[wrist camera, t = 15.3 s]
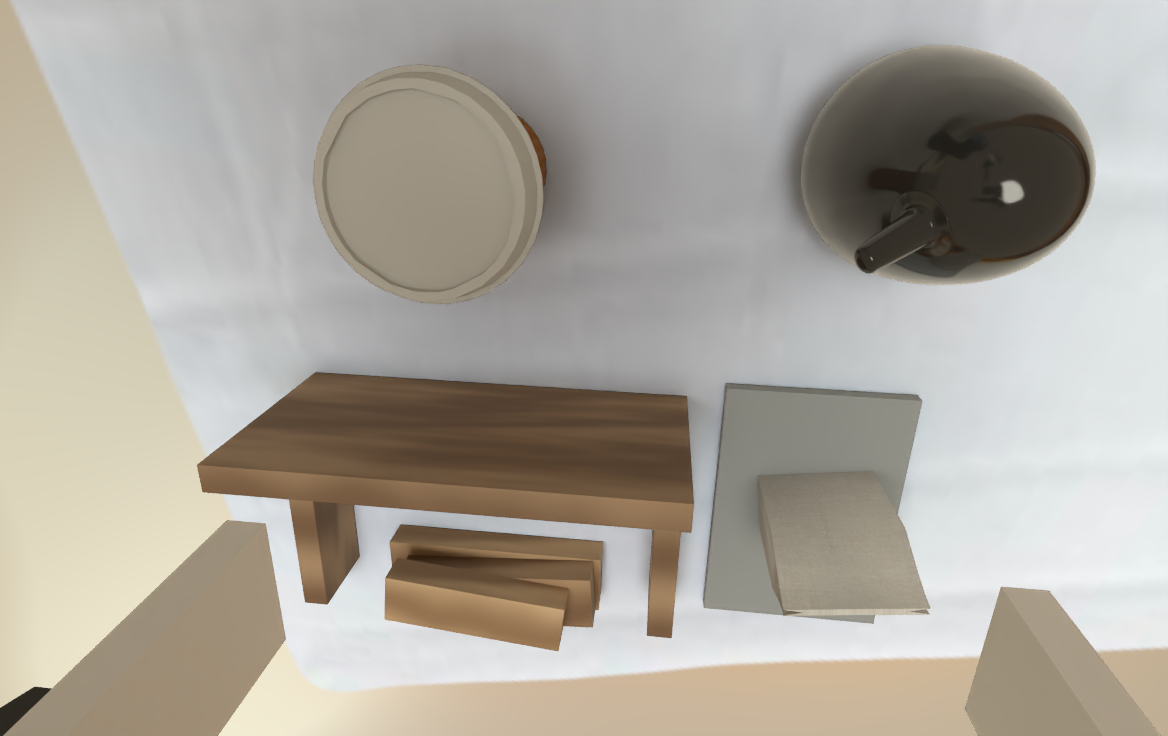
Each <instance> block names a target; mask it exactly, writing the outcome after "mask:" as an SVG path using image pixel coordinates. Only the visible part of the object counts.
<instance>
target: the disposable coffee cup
mask: <svg viewBox="0 0 1168 736" xmlns="http://www.w3.org/2000/svg"><path fill="white" fill-rule="evenodd" d="M545 179H546V159H545V154H544V150H543V147H542V145H541V143H540V141H539V139H538V137H537V135H536V134H535V132H534V131H533V130H532V128H531V127H530V126H529V125H528V124H527V123H526V122H525V121H524V120H523V119H521V118H520V117H518V116H517V115H515V113H514V112H513V111H512V109H511V108H509V107H508V106H507V105H506V104H505V103H504V102H503V101H502V100H501V99H500V98H499V97H498V96H497V95H496V94H495V93H494V92H493V91H491V90H490V89H489V88H487V87H486V86H484V85H482V84H481V83H479V82H477V81H476V80H474V79H472V78H471V77H469V76H466V75H463V74H461V73H458V72H456V71H453V70H450V69H448V68H443V67H436V66H428V65H410V66H400V67H395V68H392V69H389V70H386V71H383V72H380V73H377V74H375V75H373V76H372V77H370V78H368V79H366V80H365V81H363V82H361V83H359V84H358V85H357V86H356V87H355V88H354V89H353V90H352V91H350V92H349V93H348V94H347V95H346V96H345V97H344V98H343V99H342V100H341V102H340V103H339V104H338V106H337V107H336V109H335V110H334V111H333V113H332V114H331V116H330V119H329V121H328V123H327V125H326V127H325V129H324V131H323V134H322V136H321V139H320V141H319V144H318V147H317V152H316V156H315V161H314V177H313V186H314V192H315V199H316V204H317V208H318V212H319V216H320V219H321V221H322V224H323V226H324V228H325V231H326V233H327V235H328V237H329V238H330V240H331V242H332V243H333V245H334V247H335V248H336V250H337V251H338V253H339V254H340V255H341V256H342V257H343V258H344V259H345V260H346V262H347V263H348V264H349V265H350V266H351V267H352V268H353V269H354V270H355V271H356V272H357V273H358V274H360V275H361V276H362V277H364V278H365V279H366V280H368V281H369V282H370V283H372V284H374V285H375V286H377V287H379V288H381V289H383V290H385V291H387V292H390V293H392V294H395V295H398V296H400V297H403V298H407V299H410V300H414V301H418V302H421V303H436V304H451V303H457V302H462V301H468V300H471V299H474V298H476V297H479V296H481V295H484V294H486V293H489V292H490V291H491V290H493V289H494V288H496V287H497V286H499V285H500V284H502V283H503V282H504V281H506V280H507V279H508V278H509V277H510V276H511V275H512V274H513V273H514V272H515V271H516V269H517V268H518V267H519V266H520V265H521V264H522V263H523V261H524V259H525V258H526V256H527V254H528V252H529V250H530V248H531V247H532V245H533V243H534V241H535V239H536V236H537V233H538V229H539V225H540V222H541V217H542V212H543V206H544V204H543V188H544V185H545Z"/></svg>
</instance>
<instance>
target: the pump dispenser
mask: <svg viewBox="0 0 1168 736" xmlns="http://www.w3.org/2000/svg"><path fill="white" fill-rule="evenodd" d="M1095 176H1096V165H1095V156H1094V151H1093V147H1092V143H1091V140H1090V137H1089V135H1088V132H1087V130H1086V128H1085V126H1084V124H1083V122H1082V120H1081V119H1080V117H1079V115H1078V114H1077V112H1076V111H1075V109H1074V108H1073V107H1072V105H1071V104H1070V103H1069V102H1068V101H1067V99H1066V98H1065V97H1064V96H1063V95H1062V94H1061V93H1060V92H1059V91H1058V90H1057V89H1056V88H1055V87H1054V86H1052V85H1051V84H1050V83H1049V82H1048V81H1046V80H1045V79H1044V78H1042V77H1041V76H1039V75H1038V74H1037V73H1035V72H1033V71H1032V70H1030V69H1028V68H1026V67H1025V66H1023V65H1021V64H1019V63H1016V62H1014V61H1012V60H1010V59H1007V58H1004V57H1002V56H999V55H995V54H992V53H989V52H985V51H981V50H977V49H972V48H967V47H960V46H950V45H934V46H923V47H916V48H911V49H907V50H903V51H899V52H896V53H893V54H890V55H888V56H885V57H883V58H881V59H879V60H877V61H875V62H873V63H871V64H869V65H868V66H866V67H864V68H863V69H861V70H860V71H858V72H857V73H856V74H854V75H853V76H852V77H851V78H849V79H848V80H847V81H846V82H845V83H844V84H843V85H842V86H841V87H840V88H839V89H838V90H837V91H836V92H835V93H834V94H833V95H832V96H831V98H830V99H829V100H828V101H827V103H826V104H825V105H824V107H823V108H822V110H821V111H820V113H819V115H818V117H817V118H816V120H815V122H814V124H813V126H812V128H811V131H810V133H809V136H808V139H807V141H806V145H805V148H804V153H803V158H802V165H801V189H802V196H803V201H804V204H805V208H806V211H807V213H808V216H809V218H810V220H811V222H812V224H813V226H814V228H815V229H816V231H817V233H818V234H819V235H820V237H821V238H822V239H823V240H824V241H825V243H826V244H827V245H828V246H829V247H830V248H831V249H832V250H833V251H835V252H836V253H837V254H838V255H839V256H841V257H842V258H843V259H845V260H846V261H848V262H849V263H851V264H853V265H855V266H857V267H858V268H859V269H860V270H861V271H863V272H865V273H869V274H870V273H873V274H876V275H879V276H882V277H885V278H889V279H893V280H897V281H901V282H907V283H914V284H925V285H953V284H967V283H975V282H982V281H987V280H992V279H996V278H999V277H1003V276H1006V275H1009V274H1012V273H1015V272H1017V271H1020V270H1022V269H1024V268H1026V267H1028V266H1030V265H1032V264H1034V263H1036V262H1038V261H1039V260H1041V259H1043V258H1044V257H1046V256H1047V255H1049V254H1050V253H1051V252H1053V251H1054V250H1055V249H1056V248H1058V247H1059V246H1060V245H1061V244H1062V243H1063V242H1064V241H1065V240H1066V239H1067V238H1068V237H1069V236H1070V235H1071V234H1072V232H1073V231H1074V230H1075V229H1076V227H1077V226H1078V224H1079V223H1080V221H1081V220H1082V218H1083V216H1084V215H1085V213H1086V211H1087V208H1088V206H1089V204H1090V201H1091V198H1092V194H1093V190H1094V185H1095Z"/></svg>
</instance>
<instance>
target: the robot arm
mask: <svg viewBox="0 0 1168 736" xmlns="http://www.w3.org/2000/svg"><path fill="white" fill-rule="evenodd" d="M285 639H286V637H285V631H284V626H283V620H282V614H281V609H280V603H279V597H278V592H277V586H276V580H275V574H274V569H273V563H272V557H271V552H270V546H269V540H268V535H267V529H266V524H265V523H254V522H242V521H229V520H227V521H226V522H225V523H224V524H223V525H222V526H220V528H218V529H217V530H216V531H215V532H214V533H213V534H212V535H211V536H210V537H209V538H208V539H207V540H206V541H205V542H204V543H203V544H202V545H201V546H200V547H199V548H198V549H197V550H196V551H195V552H193V553H192V554H191V555H190V557H188V558H187V559H186V560H185V561H184V562H183V563H182V564H181V565H180V566H179V567H178V568H177V569H176V570H175V571H174V572H173V573H172V574H171V575H170V576H169V577H168V578H167V579H165V580H164V581H163V582H162V583H161V584H160V585H159V586H158V587H157V588H156V589H155V590H154V591H153V592H152V593H151V594H150V595H149V596H148V597H147V598H146V599H145V600H144V601H143V602H142V603H140V604H139V605H138V606H137V607H136V609H134V610H133V611H132V612H131V613H130V614H129V615H128V616H127V617H126V618H125V619H124V620H123V621H122V622H121V623H120V624H119V625H118V626H117V627H116V628H115V629H113V630H112V631H111V632H110V633H109V634H108V635H107V636H106V637H105V638H104V639H103V640H102V641H101V642H100V643H99V644H98V645H97V646H96V647H95V648H94V649H93V650H92V651H91V652H90V653H89V654H88V655H87V656H85V657H84V658H83V659H82V660H81V661H80V663H78V664H77V665H76V666H75V667H74V668H73V669H72V670H71V671H70V672H69V673H68V674H67V675H66V676H65V677H64V678H63V679H62V680H61V681H60V682H58V683H57V684H56V685H55V686H54V687H53V688H52V689H50V688H42V687H34V688H32V689H30V690H29V691H27V692H25V693H24V694H22V695H20V696H19V697H17V698H16V699H14V700H12V701H11V702H9V703H8V704H6V705H4V706H3V707H1V708H0V736H218V735H219V733H220V732H221V731H222V729H223V728H224V726H225V725H226V723H227V722H228V721H229V719H230V718H231V716H232V715H233V713H234V712H235V710H236V709H237V708H238V706H239V705H240V703H241V702H242V701H243V699H244V698H245V696H246V695H247V694H248V692H249V691H250V689H251V687H252V686H253V685H254V684H255V682H256V681H257V679H258V678H259V676H260V675H261V674H262V672H263V671H264V669H265V668H266V666H267V665H268V664H269V662H270V661H271V659H272V658H273V656H274V655H275V654H276V652H277V651H278V649H279V648H280V646H281V645H282V644H283V642H284V641H285ZM965 710H966V712H967V713H968V716H969V718H970V720H971V722H972V724H973V726H974V728H975V730H976V732H977V734H978V736H1161V735H1160V734H1159V732H1158V731H1157V730H1156V728H1155V727H1154V726H1153V724H1152V723H1151V722H1150V721H1149V719H1148V718H1147V717H1146V715H1145V714H1144V713H1143V712H1142V710H1141V709H1140V708H1139V706H1138V705H1137V704H1136V703H1135V701H1134V700H1133V699H1132V697H1131V696H1130V695H1129V693H1128V692H1127V691H1126V690H1125V688H1124V687H1123V686H1122V684H1121V683H1120V682H1119V681H1118V679H1117V678H1116V677H1115V675H1114V674H1113V673H1112V672H1111V670H1110V669H1109V668H1108V666H1107V665H1106V664H1105V663H1104V661H1103V660H1102V659H1101V657H1100V656H1099V655H1098V653H1097V652H1096V651H1095V650H1094V648H1093V647H1092V646H1091V644H1090V643H1089V642H1088V640H1087V639H1086V638H1085V637H1084V635H1083V634H1082V633H1081V631H1080V630H1079V629H1078V628H1077V626H1076V625H1075V624H1074V622H1073V621H1072V620H1071V618H1070V617H1069V616H1068V615H1067V613H1066V612H1065V611H1064V609H1063V608H1062V607H1061V606H1060V604H1059V603H1058V602H1057V600H1056V599H1055V598H1054V597H1053V595H1052V594H1051V593H1050V591H1046V590H1034V589H1023V588H1011V587H1001V589H1000V592H999V596H998V599H997V602H996V606H995V609H994V612H993V616H992V619H991V622H990V626H989V629H988V633H987V636H986V639H985V643H984V646H983V649H982V653H981V656H980V659H979V663H978V666H977V669H976V673H975V676H974V679H973V683H972V686H971V690H970V693H969V696H968V700H967V703H966V706H965Z"/></svg>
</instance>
